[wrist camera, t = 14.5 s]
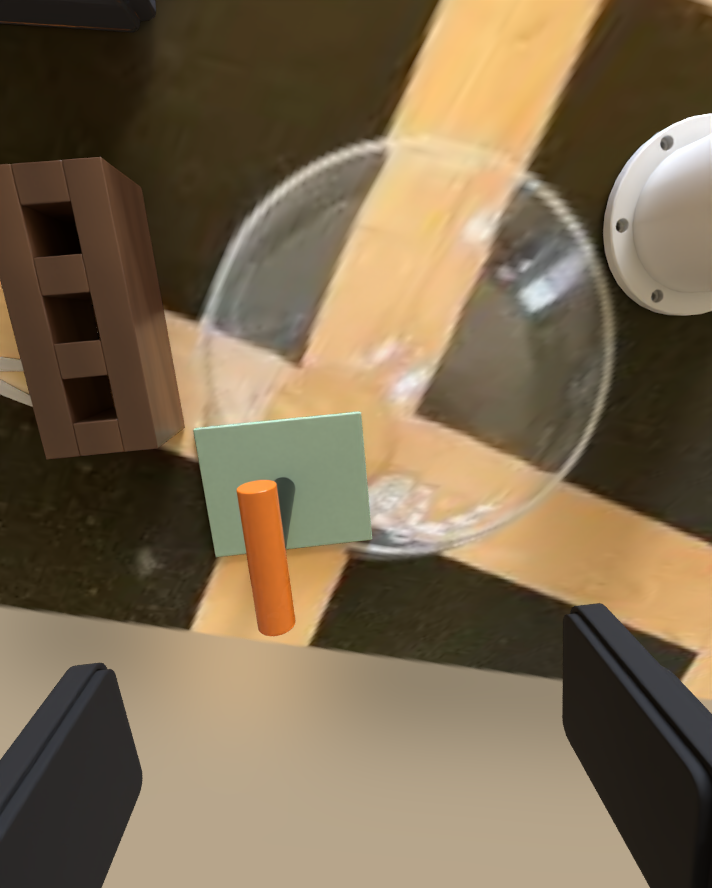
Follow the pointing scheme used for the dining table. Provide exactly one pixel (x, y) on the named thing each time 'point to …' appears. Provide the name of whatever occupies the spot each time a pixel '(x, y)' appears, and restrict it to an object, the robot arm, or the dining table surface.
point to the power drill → (78, 13)
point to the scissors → (7, 389)
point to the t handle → (268, 550)
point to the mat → (301, 460)
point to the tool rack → (86, 307)
